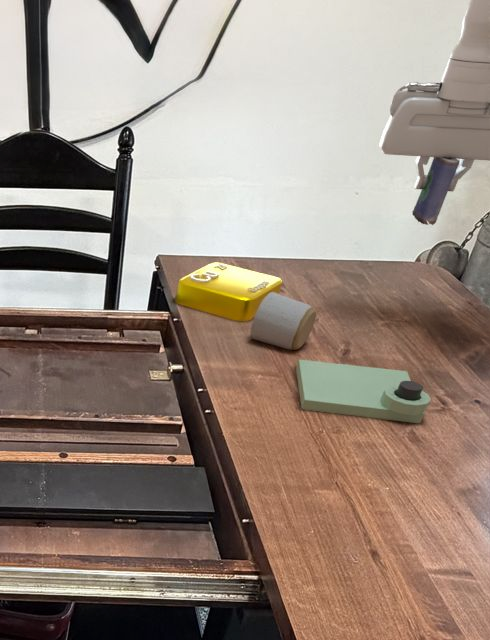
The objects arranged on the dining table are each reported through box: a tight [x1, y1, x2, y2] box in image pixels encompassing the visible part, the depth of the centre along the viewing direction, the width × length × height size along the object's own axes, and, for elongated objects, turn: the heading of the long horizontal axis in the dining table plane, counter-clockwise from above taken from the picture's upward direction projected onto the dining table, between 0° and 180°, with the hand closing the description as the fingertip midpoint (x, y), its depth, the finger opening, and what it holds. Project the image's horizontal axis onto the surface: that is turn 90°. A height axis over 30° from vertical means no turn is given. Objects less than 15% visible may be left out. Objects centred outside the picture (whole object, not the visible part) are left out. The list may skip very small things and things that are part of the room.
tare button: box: [395, 380, 424, 401], centre depth 99 cm, size 3×3×2 cm
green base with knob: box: [295, 359, 432, 424], centre depth 105 cm, size 16×15×4 cm
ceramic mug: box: [250, 292, 317, 351], centre depth 118 cm, size 11×8×8 cm
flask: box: [412, 157, 460, 226], centre depth 114 cm, size 9×3×11 cm, turn 164°
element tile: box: [174, 261, 283, 322], centre depth 132 cm, size 15×15×5 cm
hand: (433, 189), depth 114 cm, fingers closed on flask, 3 cm apart
